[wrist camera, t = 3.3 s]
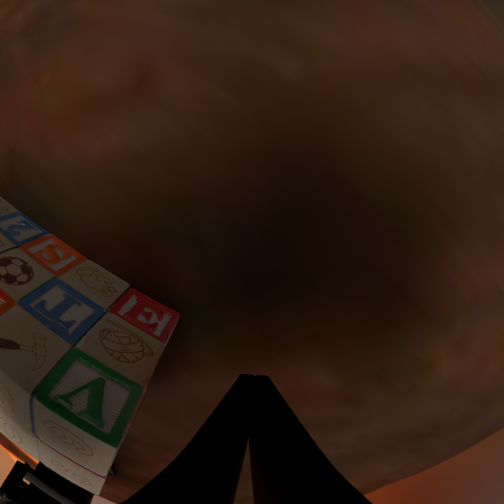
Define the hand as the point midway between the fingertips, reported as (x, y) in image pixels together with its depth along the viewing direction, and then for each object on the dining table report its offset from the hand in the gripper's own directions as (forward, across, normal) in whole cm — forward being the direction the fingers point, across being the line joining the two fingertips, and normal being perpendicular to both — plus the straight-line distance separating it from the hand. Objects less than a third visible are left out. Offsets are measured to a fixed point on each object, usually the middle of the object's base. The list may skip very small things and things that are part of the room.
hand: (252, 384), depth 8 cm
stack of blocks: (+7, +15, 0) cm, 16 cm away
